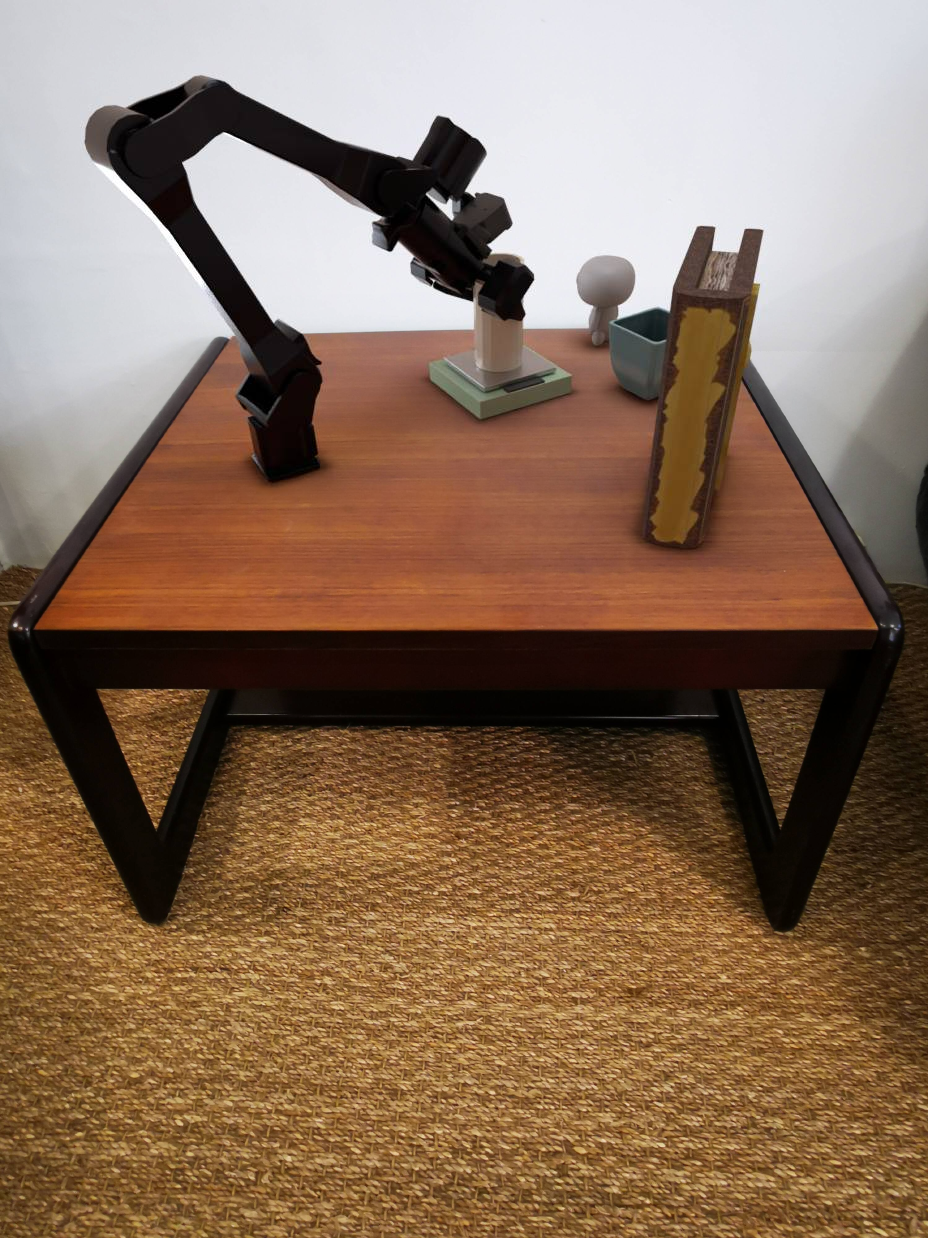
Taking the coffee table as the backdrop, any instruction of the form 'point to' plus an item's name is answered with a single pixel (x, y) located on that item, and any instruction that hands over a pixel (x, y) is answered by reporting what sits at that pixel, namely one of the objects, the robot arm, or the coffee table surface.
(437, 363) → the scale
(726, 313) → the book
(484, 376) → the scale pan
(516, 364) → the cup
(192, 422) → the coffee table surface
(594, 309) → the figurine
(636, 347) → the flower pot
